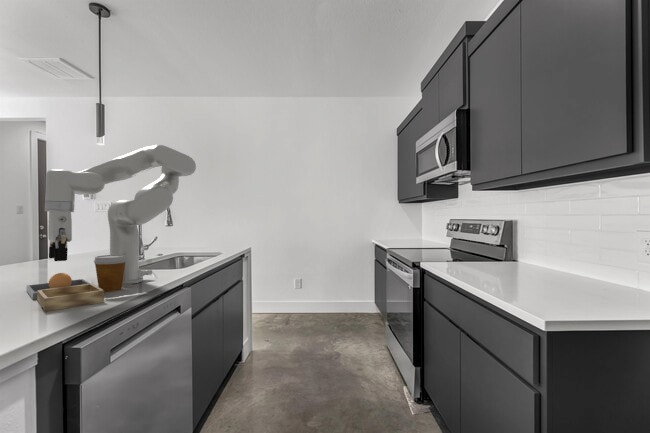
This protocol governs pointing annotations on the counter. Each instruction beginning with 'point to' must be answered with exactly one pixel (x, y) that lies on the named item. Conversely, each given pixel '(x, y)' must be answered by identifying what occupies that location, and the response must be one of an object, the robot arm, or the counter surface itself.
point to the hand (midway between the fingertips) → (57, 259)
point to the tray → (69, 296)
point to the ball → (60, 280)
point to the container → (33, 288)
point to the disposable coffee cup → (110, 271)
